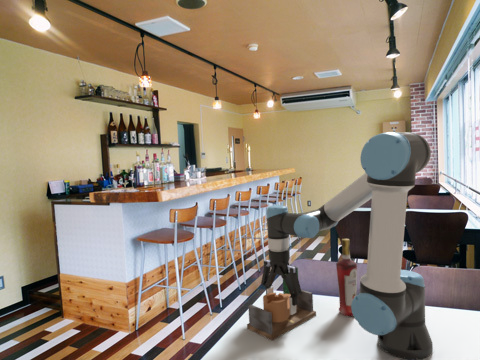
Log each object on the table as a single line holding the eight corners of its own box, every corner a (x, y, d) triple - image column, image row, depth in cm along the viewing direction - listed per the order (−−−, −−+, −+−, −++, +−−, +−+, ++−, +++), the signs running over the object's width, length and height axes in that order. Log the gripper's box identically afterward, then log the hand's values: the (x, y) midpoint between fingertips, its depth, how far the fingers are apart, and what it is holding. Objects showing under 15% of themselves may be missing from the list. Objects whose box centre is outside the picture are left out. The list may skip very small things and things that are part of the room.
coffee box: (294, 295, 149) (292, 265, 149) (299, 297, 147) (298, 267, 147) (283, 302, 143) (281, 271, 143) (289, 304, 141) (287, 272, 141)
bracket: (283, 324, 116) (282, 303, 116) (260, 319, 120) (259, 300, 119) (299, 302, 132) (299, 284, 131) (279, 299, 136) (278, 282, 135)
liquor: (347, 307, 135) (344, 236, 133) (363, 314, 129) (360, 239, 127) (334, 312, 131) (330, 239, 130) (349, 320, 125) (346, 243, 123)
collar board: (316, 315, 130) (315, 293, 130) (271, 340, 114) (270, 315, 114) (291, 306, 139) (290, 285, 139) (247, 328, 123) (245, 305, 123)
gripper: (311, 251, 119) (313, 315, 121) (263, 241, 136) (266, 297, 137) (296, 256, 114) (299, 322, 116) (249, 246, 131) (252, 303, 132)
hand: (281, 309), depth 126 cm, fingers closed on bracket, 10 cm apart
